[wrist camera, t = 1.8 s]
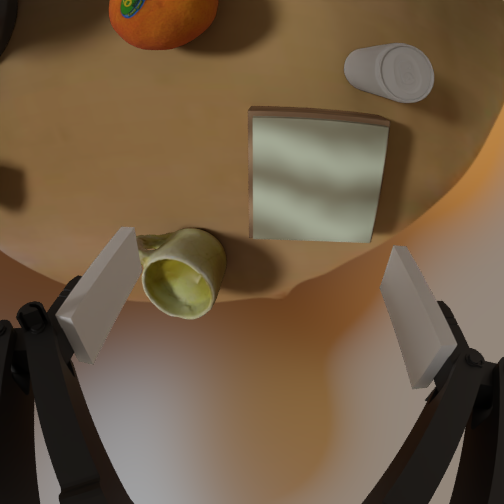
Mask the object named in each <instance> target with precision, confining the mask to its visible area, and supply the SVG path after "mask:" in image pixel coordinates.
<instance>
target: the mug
mask: <svg viewBox="0 0 504 504" xmlns="http://www.w3.org/2000/svg"><path fill="white" fill-rule="evenodd" d="M136 241H137V246H138V252H139V257H140V262H141V265H143V266H144V270H143V273H142V284H143V289H144V291H145V293H146V295H147V296H148V298H149V299H150V300H151V302H152V303H153V304H154V305H155V306H156V307H157V308H158V309H160V310H161V311H162V312H164V313H166V314H168V315H170V316H173V317H174V316H175V317H181V318H184V319H196V318H198V317H201V316H203V315H205V314H206V313H207V312H208V311H209V310H210V309H212V306H213V305H214V303H215V301H216V298H217V296H218V292H219V290H220V286H221V283H222V278H223V276H224V274H225V270H226V266H227V258H226V254H225V250H224V248H223V246H222V244H221V243H220V242H219V241H218V240H217V239H216V238H215V237H214V236H212V235H211V234H209V233H208V232H205V231H203V230H200V229H196V228H186V229H182V230H179V231H176V232H173V233H167V234H163V235H145V236H144V235H140V236H136ZM144 248H145V249H144ZM151 248H153V249H155V250H147V249H151Z"/></svg>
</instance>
